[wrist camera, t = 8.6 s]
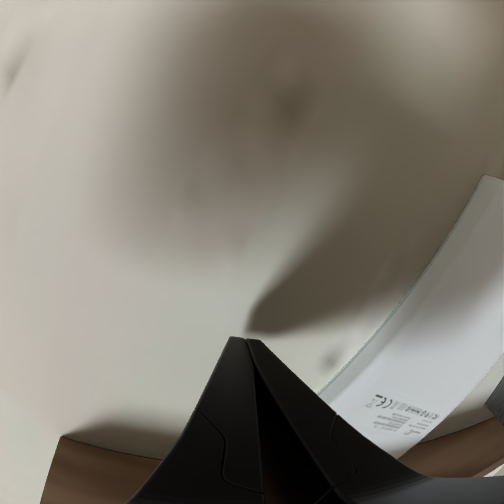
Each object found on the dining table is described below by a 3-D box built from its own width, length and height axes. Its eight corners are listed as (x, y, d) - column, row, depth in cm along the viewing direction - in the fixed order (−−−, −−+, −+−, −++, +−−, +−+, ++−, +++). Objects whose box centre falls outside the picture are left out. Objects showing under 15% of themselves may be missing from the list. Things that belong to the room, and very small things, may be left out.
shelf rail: (491, 428, 16) (513, 456, 13) (69, 456, 11) (53, 518, 7) (504, 412, 16) (527, 440, 12) (60, 436, 10) (39, 503, 6)
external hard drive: (528, 274, 11) (384, 445, 14) (474, 171, 8) (273, 421, 11) (549, 287, 9) (395, 466, 12) (506, 179, 7) (281, 452, 10)
